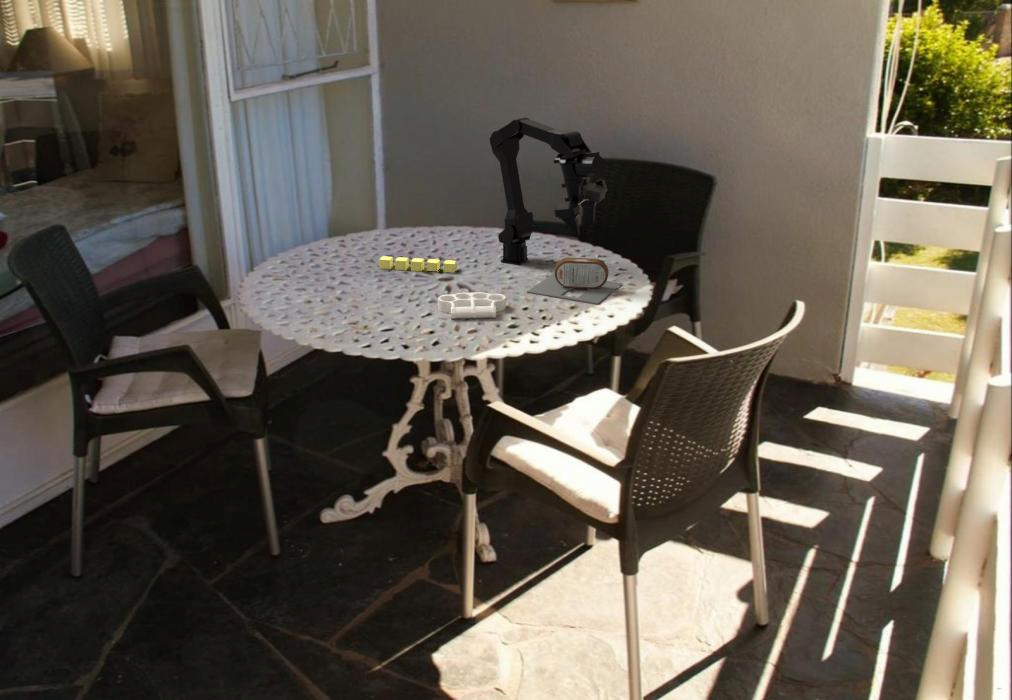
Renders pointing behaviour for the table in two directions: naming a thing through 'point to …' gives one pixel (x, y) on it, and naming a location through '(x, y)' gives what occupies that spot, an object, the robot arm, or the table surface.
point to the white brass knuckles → (472, 304)
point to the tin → (581, 273)
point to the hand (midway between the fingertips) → (585, 229)
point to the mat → (556, 290)
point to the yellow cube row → (416, 264)
